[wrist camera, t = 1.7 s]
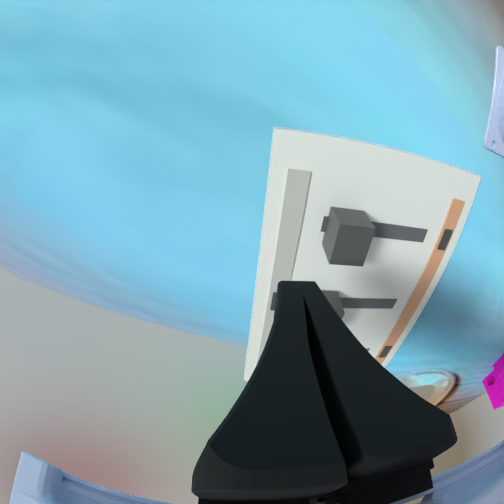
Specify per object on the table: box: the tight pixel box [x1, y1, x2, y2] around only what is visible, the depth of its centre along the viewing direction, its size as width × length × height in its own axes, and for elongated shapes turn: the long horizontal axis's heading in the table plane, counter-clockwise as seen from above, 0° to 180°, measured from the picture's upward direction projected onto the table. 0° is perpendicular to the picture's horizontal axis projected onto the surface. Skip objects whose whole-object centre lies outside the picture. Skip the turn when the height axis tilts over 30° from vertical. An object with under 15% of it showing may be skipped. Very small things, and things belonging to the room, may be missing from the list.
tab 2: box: [322, 207, 376, 266], centre depth 15 cm, size 2×2×2 cm
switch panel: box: [244, 126, 481, 381], centre depth 20 cm, size 14×22×2 cm, turn 175°
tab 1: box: [322, 291, 345, 319], centre depth 18 cm, size 2×2×2 cm
